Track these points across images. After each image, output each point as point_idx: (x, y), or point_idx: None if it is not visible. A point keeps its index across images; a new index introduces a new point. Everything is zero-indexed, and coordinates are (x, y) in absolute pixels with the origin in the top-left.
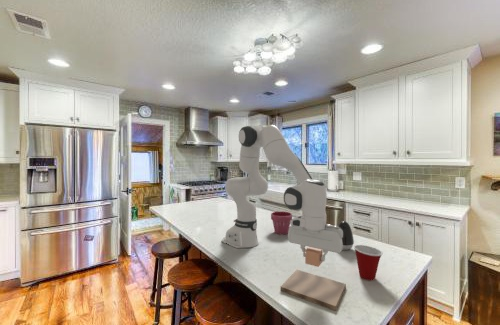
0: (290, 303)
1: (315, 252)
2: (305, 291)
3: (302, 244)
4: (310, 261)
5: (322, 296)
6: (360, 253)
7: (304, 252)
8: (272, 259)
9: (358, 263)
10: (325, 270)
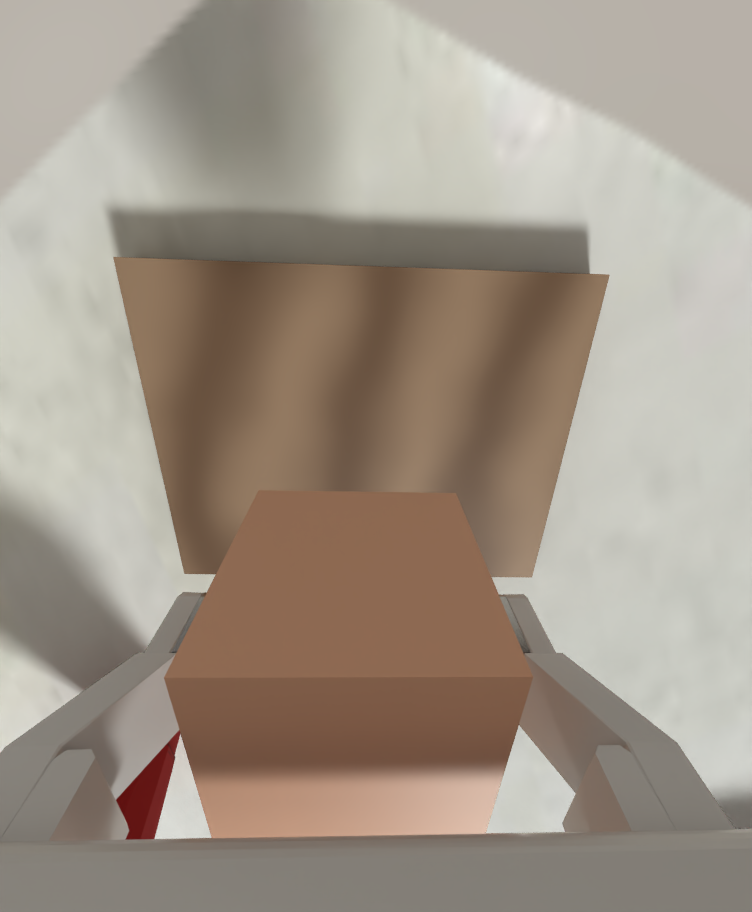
0: (466, 130)
1: (255, 682)
2: (391, 327)
3: (709, 864)
4: (378, 518)
5: (252, 336)
6: None
7: (530, 653)
8: (721, 627)
9: (139, 777)
10: None
